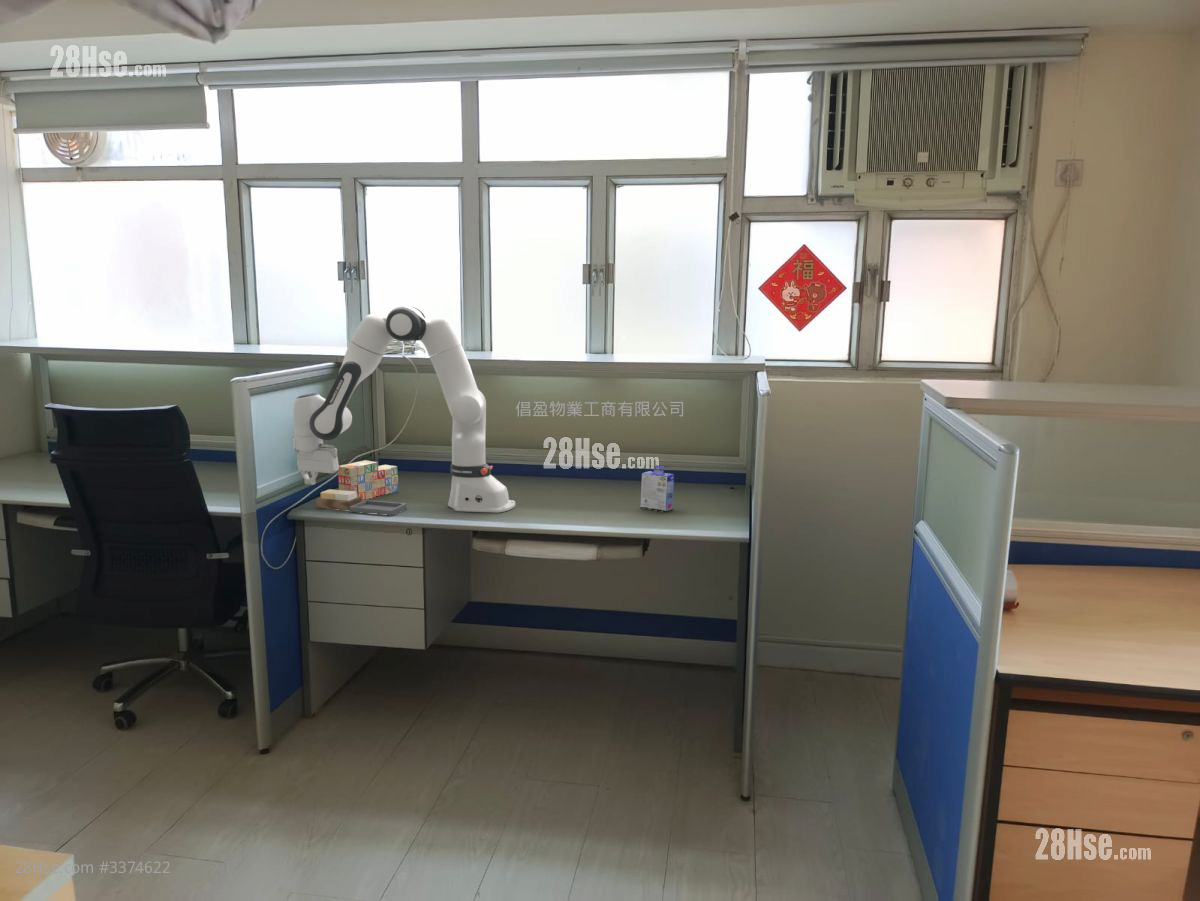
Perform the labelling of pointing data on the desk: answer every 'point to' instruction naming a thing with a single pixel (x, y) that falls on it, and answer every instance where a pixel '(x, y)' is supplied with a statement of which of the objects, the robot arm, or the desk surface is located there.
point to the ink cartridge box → (657, 489)
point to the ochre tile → (329, 494)
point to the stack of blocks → (368, 479)
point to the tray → (378, 507)
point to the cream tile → (345, 495)
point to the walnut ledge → (337, 503)
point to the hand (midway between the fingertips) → (310, 484)
